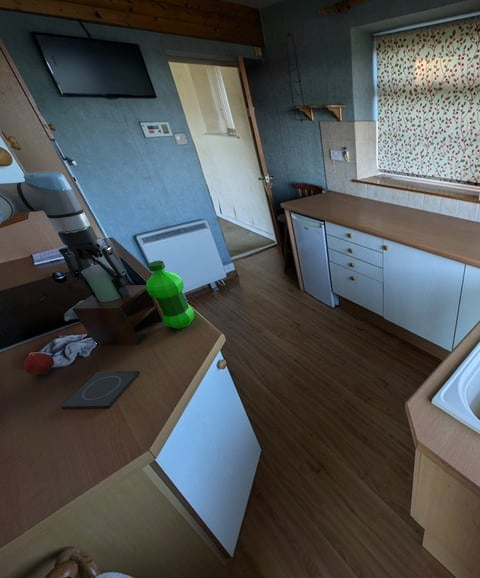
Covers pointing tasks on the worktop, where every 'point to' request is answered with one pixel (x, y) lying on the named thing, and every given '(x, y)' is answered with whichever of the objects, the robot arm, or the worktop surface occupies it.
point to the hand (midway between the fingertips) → (111, 295)
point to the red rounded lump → (38, 363)
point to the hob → (101, 390)
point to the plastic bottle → (169, 296)
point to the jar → (101, 283)
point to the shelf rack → (118, 316)
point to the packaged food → (71, 314)
